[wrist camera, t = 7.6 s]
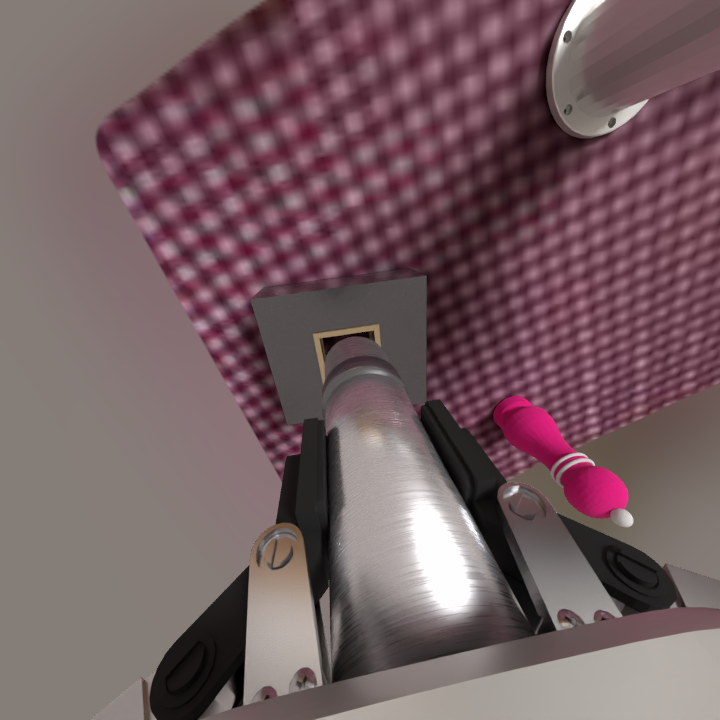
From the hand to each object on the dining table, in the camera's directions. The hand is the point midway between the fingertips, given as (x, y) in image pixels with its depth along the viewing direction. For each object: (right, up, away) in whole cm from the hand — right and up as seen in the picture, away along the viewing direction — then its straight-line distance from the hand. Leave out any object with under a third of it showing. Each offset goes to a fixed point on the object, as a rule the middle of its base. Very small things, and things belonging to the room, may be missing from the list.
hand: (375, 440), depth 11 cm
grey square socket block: (-3, +6, +25) cm, 26 cm away
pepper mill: (+25, -5, +35) cm, 43 cm away
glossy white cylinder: (-1, +3, +6) cm, 7 cm away
